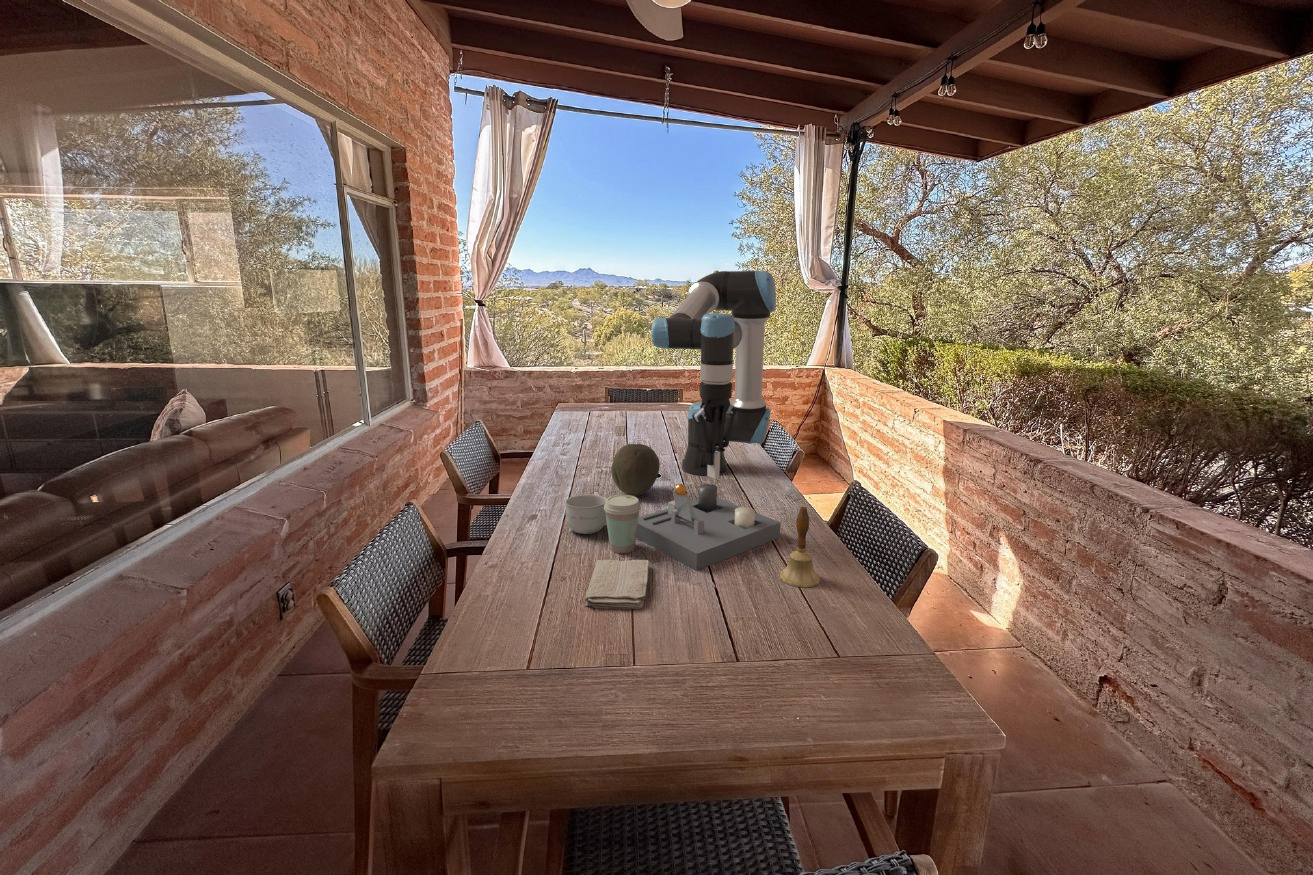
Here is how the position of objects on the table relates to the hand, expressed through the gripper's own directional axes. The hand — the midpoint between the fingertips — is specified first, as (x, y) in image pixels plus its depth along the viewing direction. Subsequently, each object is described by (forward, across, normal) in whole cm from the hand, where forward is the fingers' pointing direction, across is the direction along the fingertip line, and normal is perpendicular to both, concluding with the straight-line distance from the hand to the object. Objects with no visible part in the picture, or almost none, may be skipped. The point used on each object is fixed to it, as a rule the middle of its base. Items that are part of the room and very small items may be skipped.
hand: (713, 476), depth 142 cm
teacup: (+15, +23, -19) cm, 34 cm away
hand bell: (+15, +2, +29) cm, 32 cm away
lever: (+9, +9, +1) cm, 12 cm away
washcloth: (+15, +34, +8) cm, 38 cm away
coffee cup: (+15, +23, -6) cm, 28 cm away
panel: (+15, +3, +1) cm, 15 cm away
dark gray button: (+11, -4, -6) cm, 13 cm away
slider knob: (+11, +6, -7) cm, 14 cm away
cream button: (+13, -4, +7) cm, 16 cm away
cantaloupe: (+16, -2, -34) cm, 38 cm away
